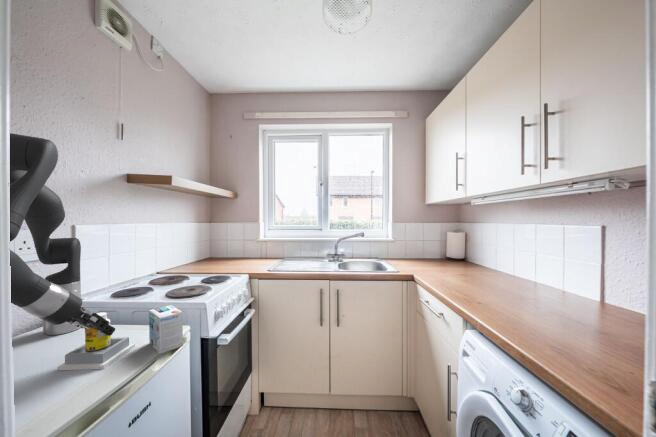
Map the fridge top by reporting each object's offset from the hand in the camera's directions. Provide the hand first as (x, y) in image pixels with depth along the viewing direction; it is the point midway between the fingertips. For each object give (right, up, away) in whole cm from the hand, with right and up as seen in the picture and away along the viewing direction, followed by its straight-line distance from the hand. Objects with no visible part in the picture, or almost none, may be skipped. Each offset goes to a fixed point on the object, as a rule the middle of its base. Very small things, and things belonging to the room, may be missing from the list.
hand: (104, 331), depth 79 cm
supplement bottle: (0, -5, -2) cm, 5 cm away
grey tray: (0, -7, -1) cm, 7 cm away
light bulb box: (+14, -7, +6) cm, 17 cm away
